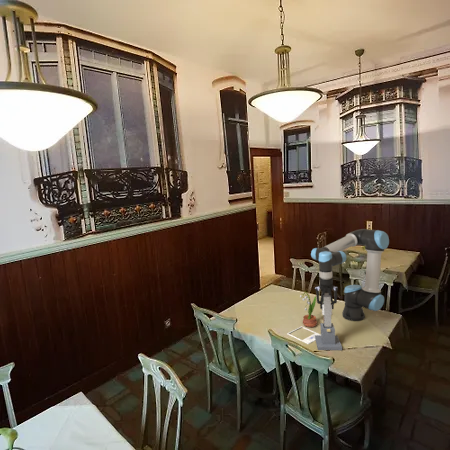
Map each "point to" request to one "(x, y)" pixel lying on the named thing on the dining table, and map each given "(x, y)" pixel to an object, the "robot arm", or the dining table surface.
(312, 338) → the photo frame
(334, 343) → the jack stand
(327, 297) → the post
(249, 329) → the dining table surface
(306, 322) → the potted flower
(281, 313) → the dining table surface
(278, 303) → the dining table surface
